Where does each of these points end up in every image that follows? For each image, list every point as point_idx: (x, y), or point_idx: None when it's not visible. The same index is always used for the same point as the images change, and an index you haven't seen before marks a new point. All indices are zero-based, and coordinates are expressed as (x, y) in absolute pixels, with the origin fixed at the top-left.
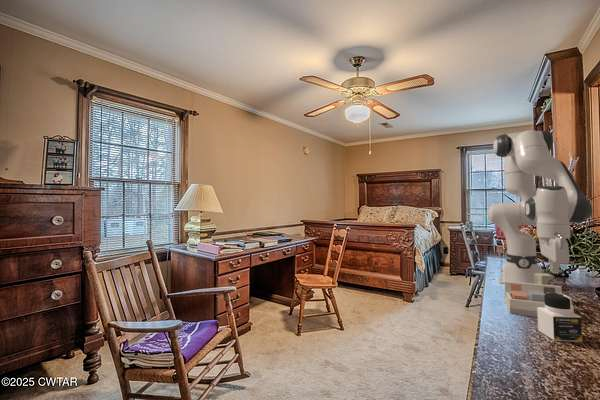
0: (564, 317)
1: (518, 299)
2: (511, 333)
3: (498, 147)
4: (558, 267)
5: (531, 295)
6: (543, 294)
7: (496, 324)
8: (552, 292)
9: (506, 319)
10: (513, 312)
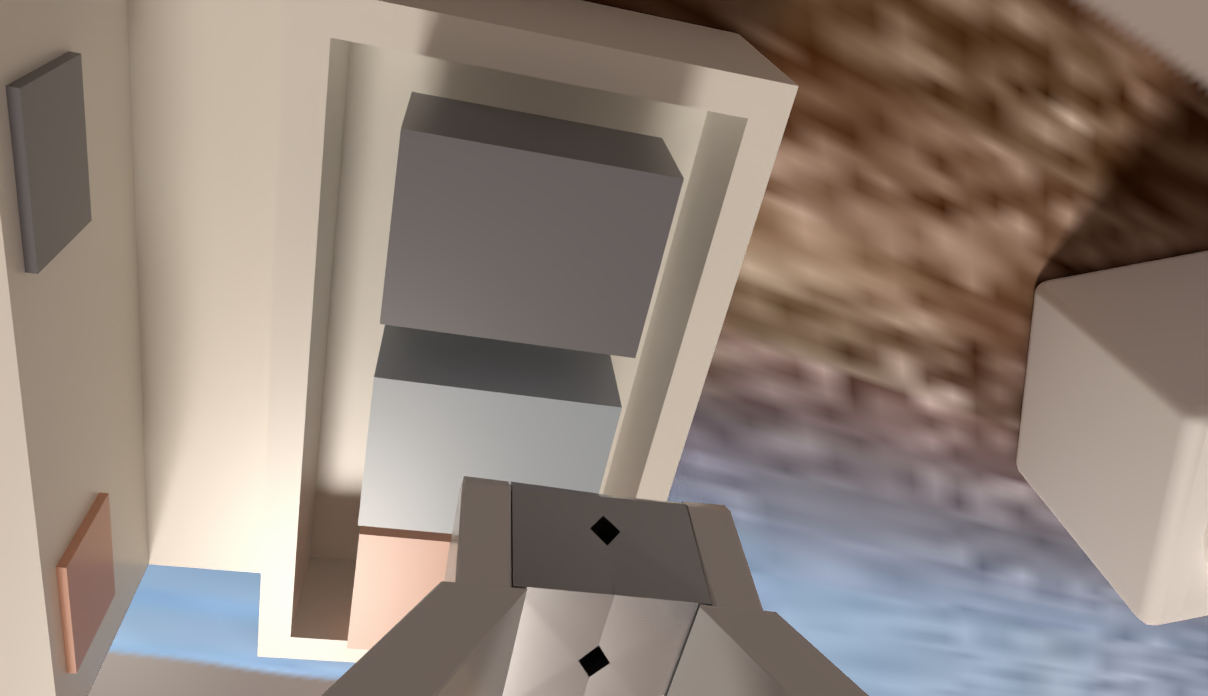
0: None
1: None
2: (1064, 630)
3: None
4: (799, 658)
5: None
6: (565, 415)
7: (894, 679)
8: (64, 104)
9: (768, 606)
10: None
